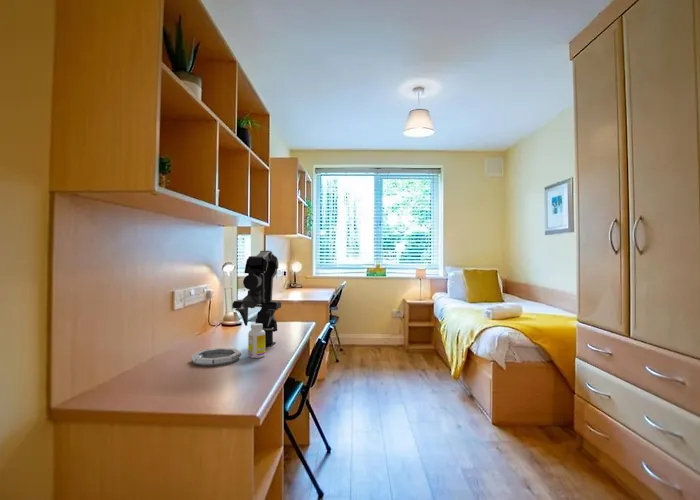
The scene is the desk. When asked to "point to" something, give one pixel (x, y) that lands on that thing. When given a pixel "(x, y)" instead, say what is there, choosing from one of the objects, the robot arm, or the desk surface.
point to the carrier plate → (216, 357)
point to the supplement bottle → (256, 341)
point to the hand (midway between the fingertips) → (256, 326)
